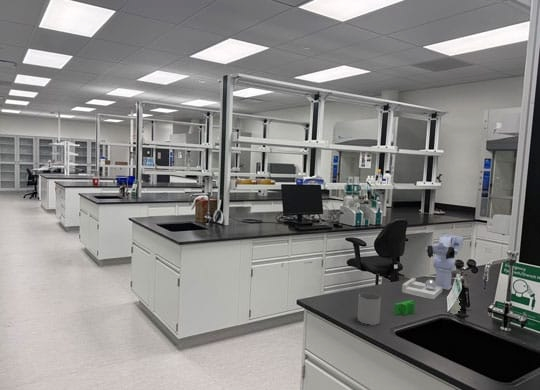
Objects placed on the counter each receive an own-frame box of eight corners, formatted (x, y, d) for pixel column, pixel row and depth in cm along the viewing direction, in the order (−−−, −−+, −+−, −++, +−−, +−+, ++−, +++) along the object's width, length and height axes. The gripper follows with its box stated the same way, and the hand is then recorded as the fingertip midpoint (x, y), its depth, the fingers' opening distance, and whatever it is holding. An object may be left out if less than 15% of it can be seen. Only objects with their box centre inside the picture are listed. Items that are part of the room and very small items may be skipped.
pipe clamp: (401, 317, 155) (402, 306, 154) (394, 314, 158) (394, 303, 157) (418, 312, 161) (419, 302, 160) (411, 309, 164) (411, 299, 163)
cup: (375, 326, 144) (377, 301, 143) (354, 321, 148) (356, 296, 147) (381, 319, 151) (383, 295, 150) (361, 315, 155) (362, 291, 154)
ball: (426, 287, 189) (427, 277, 189) (437, 289, 186) (437, 279, 186) (423, 289, 185) (424, 279, 185) (434, 291, 182) (435, 281, 182)
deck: (412, 285, 200) (412, 277, 199) (442, 291, 191) (442, 284, 190) (401, 292, 187) (402, 284, 187) (433, 299, 178) (434, 291, 178)
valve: (461, 318, 157) (469, 310, 166) (463, 302, 156) (470, 295, 165) (445, 313, 161) (453, 306, 170) (446, 298, 161) (454, 292, 170)
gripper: (427, 239, 195) (421, 247, 184) (458, 241, 187) (454, 249, 176) (428, 252, 196) (422, 260, 185) (459, 254, 188) (454, 263, 177)
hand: (438, 256), depth 181 cm, fingers open, 7 cm apart
